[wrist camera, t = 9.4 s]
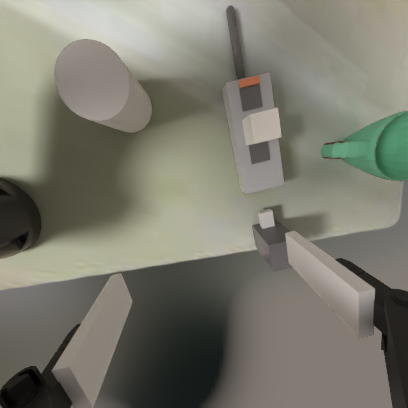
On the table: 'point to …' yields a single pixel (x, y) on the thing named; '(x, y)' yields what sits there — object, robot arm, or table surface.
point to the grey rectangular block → (271, 240)
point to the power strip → (238, 110)
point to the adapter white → (262, 126)
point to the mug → (376, 148)
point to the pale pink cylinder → (101, 87)
